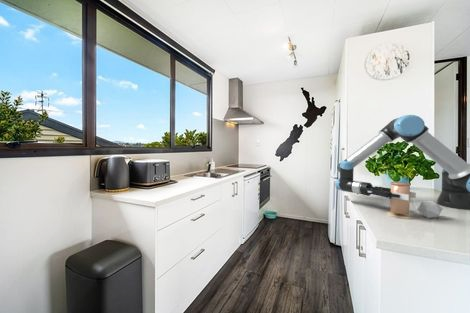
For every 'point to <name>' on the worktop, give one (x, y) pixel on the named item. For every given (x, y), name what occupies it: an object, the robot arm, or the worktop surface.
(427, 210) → the die
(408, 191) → the jar
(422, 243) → the worktop surface
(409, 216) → the disc
